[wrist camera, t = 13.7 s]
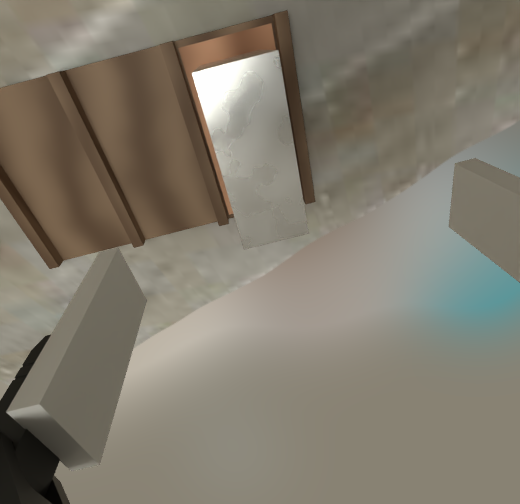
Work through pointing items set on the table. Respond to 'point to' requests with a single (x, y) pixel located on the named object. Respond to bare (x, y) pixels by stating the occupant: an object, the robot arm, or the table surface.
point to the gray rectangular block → (254, 144)
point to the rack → (128, 144)
